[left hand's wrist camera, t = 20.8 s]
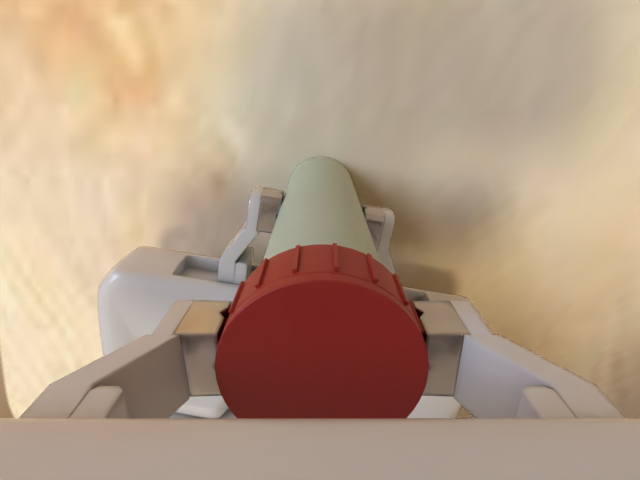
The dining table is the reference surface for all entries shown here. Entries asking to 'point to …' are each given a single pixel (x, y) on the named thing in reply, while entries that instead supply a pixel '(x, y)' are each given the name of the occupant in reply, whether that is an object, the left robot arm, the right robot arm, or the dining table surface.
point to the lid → (321, 339)
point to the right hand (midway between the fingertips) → (323, 199)
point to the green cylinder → (320, 210)
